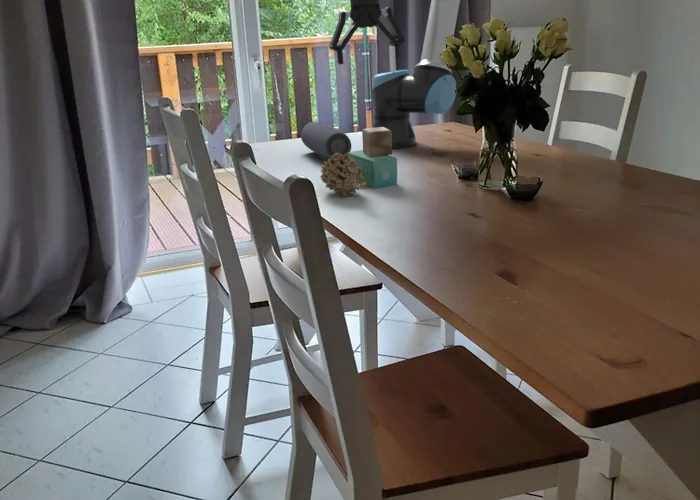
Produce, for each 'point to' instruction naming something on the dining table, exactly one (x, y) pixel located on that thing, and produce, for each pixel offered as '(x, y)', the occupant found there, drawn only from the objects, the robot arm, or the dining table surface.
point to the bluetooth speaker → (325, 140)
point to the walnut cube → (377, 141)
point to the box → (376, 169)
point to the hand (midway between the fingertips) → (369, 74)
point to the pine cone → (342, 174)
